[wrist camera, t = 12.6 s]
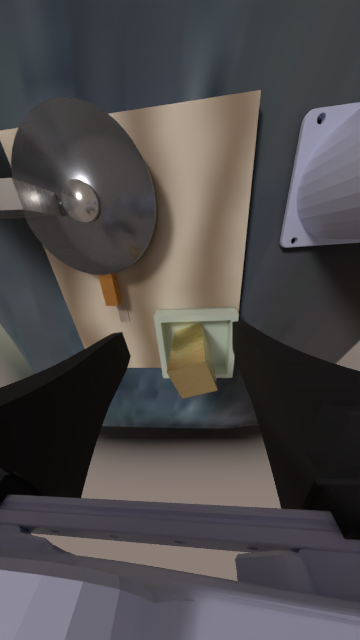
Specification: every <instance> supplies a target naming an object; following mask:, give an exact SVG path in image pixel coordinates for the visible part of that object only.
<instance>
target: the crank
mask: <svg viewBox="0 0 360 640" xmlns="http://www.w3.org/2000/svg"><path fill="white" fill-rule="evenodd" d="M11 173H12V178H0V219H11V218H25V220H26V221H27V223H28V225H29V227H30V228H31V230H32V231H33V233H34V234H35V236H36V237H37V238H38V240H39V241H40V242H41V243H42V245H43V246H44V247H45V248H46V249H47V250H48V251H49V252H50V253H51V254H53V255H54V256H55V257H56V258H57V259H59V260H60V261H61V262H63V263H64V264H66V265H68V266H70V267H71V268H74V269H76V270H78V271H81V272H84V273H88V274H93V275H98V276H99V280H100V284H101V288H102V292H103V296H104V300H105V304H106V306H118V305H120V304H121V303H122V299H121V294H120V289H119V284H118V279H117V274H116V273H117V272H119V271H122V270H124V269H126V268H129V267H131V266H132V265H134V264H135V263H137V262H138V261H139V260H140V259H141V258H142V257H143V256H144V255H145V253H146V252H147V250H148V249H149V247H150V245H151V243H152V241H153V238H154V235H155V232H156V227H157V221H158V201H157V194H156V189H155V185H154V182H153V179H152V176H151V173H150V171H149V169H148V166H147V164H146V162H145V160H144V159H143V157H142V155H141V154H140V152H139V150H138V149H137V147H136V145H135V144H134V142H133V140H132V139H131V138H130V136H129V135H128V134H127V132H126V131H125V130H124V128H123V127H122V126H121V125H120V124H119V123H118V122H117V121H116V120H115V119H114V118H112V117H111V116H110V115H109V114H107V113H106V112H105V111H104V110H102V109H100V108H99V107H97V106H95V105H93V104H91V103H89V102H86V101H84V100H81V99H76V98H71V97H58V98H53V99H49V100H46V101H44V102H42V103H40V104H38V105H37V106H36V107H34V108H33V109H32V110H31V111H30V112H29V113H28V114H27V115H26V116H25V117H24V119H23V121H22V122H21V124H20V126H19V127H18V130H17V133H16V135H15V138H14V143H13V147H12V156H11Z"/></svg>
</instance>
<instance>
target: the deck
mask: <svg viewBox="0 0 360 640" xmlns="http://www.w3.org/2000/svg"><path fill="white" fill-rule="evenodd" d="M260 94H261V90H258V91H252V92H245V93H239V94H233V95H226V96H220V97H213V98H207V99H201V100H194V101H188V102H181V103H175V104H169V105H162V106H156V107H149V108H143V109H136V110H130V111H124V112H117V113H111V114H109V115H110V116H111V117H112V118H114V119H115V120H116V121H117V122H118V123H119V124H120V125H121V126H122V127H123V128H124V130H125V131H126V132H127V134H128V135H129V136H130V138H131V139H132V140H133V142H134V144H135V145H136V147H137V149H138V150H139V152H140V154H141V155H142V157H143V159H144V160H145V162H146V164H147V166H148V169H149V171H150V173H151V176H152V179H153V182H154V185H155V189H156V194H157V201H158V221H157V227H156V232H155V235H154V238H153V241H152V243H151V245H150V247H149V249H148V250H147V252H146V253H145V255H144V256H143V257H142V258H141V259H140V260H139V261H138V262H137V263H135V264H134V265H132V266H131V267H129V268H126V269H124V270H122V271H119V272H117V273H116V274H117V279H118V284H119V289H120V294H121V299H122V303H121V304H120V305H118V306H106V304H105V300H104V296H103V292H102V288H101V284H100V280H99V276H98V275H93V274H88V273H84V272H81V271H78V270H76V269H74V268H71V267H70V266H68V265H66V264H64V263H63V262H61V261H60V260H59V259H57V258H56V257H55V256H54V255H53V254H51V253H50V252H49V251H48V250H47V249H46V248H45V247H44V246H43V247H44V249H45V252H46V254H47V257H48V259H49V262H50V264H51V267H52V269H53V271H54V274H55V276H56V279H57V281H58V284H59V286H60V289H61V291H62V294H63V296H64V299H65V301H66V303H67V306H68V308H69V311H70V313H71V316H72V318H73V321H74V323H75V326H76V328H77V331H78V333H79V335H80V338H81V340H82V343H83V345H84V348H85V349H86V348H88V347H89V346H91V345H93V344H94V343H96V342H98V341H99V340H101V339H103V338H105V337H106V336H108V335H110V334H113V333H118V332H122V333H123V336H124V338H125V341H126V344H127V347H128V350H129V352H130V355H131V357H130V361H129V364H128V367H127V368H162V367H161V361H160V354H159V348H158V342H157V335H156V329H155V322H154V315H155V313H156V311H157V310H162V309H187V308H212V307H235V309H236V310H237V312H238V314H239V304H240V294H241V284H242V274H243V264H244V254H245V244H246V234H247V224H248V214H249V204H250V194H251V184H252V174H253V164H254V154H255V144H256V134H257V124H258V114H259V104H260ZM17 130H18V128H15V129H8V130H2V131H0V141H1V143H2V146H3V148H4V151H5V153H6V156H7V158H8V161H9V163H10V166H11V156H12V147H13V143H14V138H15V135H16V133H17Z"/></svg>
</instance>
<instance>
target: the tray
mask: <svg viewBox="0 0 360 640" xmlns="http://www.w3.org/2000/svg"><path fill="white" fill-rule="evenodd" d="M238 317H239V314H238V312H237V310H236V309H235V307H212V308H187V309H162V310H157V311H156V313H155V315H154V322H155V329H156V335H157V342H158V348H159V354H160V361H161V367H162V373H163V378H170V377H169V375H168V374H167V368H168V363H169V358H170V353H171V347H172V342H173V337H174V331H177V330H180V329H183V328H186V327H189V326H192V325H195V324H198V323H201V324H202V326H203V329H204V331H205V334H206V336H207V339H208V341H209V343H210V347H211V353H212V359H213V364H214V370H215V376H216V378H232V377H233V367H234V353H233V349H232V322H235V321H238Z"/></svg>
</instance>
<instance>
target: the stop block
mask: <svg viewBox="0 0 360 640" xmlns="http://www.w3.org/2000/svg"><path fill="white" fill-rule="evenodd" d="M167 374H168V375H169V377H170V379H171V381H172V382H173V384H174V386H175V387H176V389H177V391H178V392H179V394H180V396H181V397H182V398H187V397H191V396H196V395H200V394H204V393H209V392H213V391H217V390H218V387H217V381H216V376H215V370H214V364H213V359H212V353H211V347H210V343H209V341H208V339H207V336H206V334H205V331H204V329H203V326H202V324H201V323H198V324H195V325H192V326H189V327H186V328H183V329H180V330H177V331H174V337H173V342H172V347H171V353H170V358H169V363H168V368H167Z"/></svg>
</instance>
